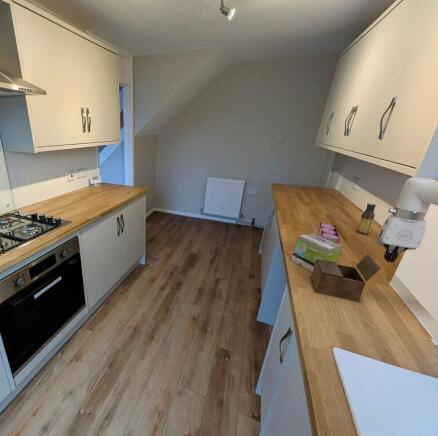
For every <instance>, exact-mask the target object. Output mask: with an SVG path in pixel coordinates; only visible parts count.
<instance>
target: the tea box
mask: <svg viewBox="0 0 438 436" xmlns="http://www.w3.org/2000/svg"><path fill="white" fill-rule="evenodd" d="M342 250H343V245H341V244H340V243H339V244H337V243H334V242H332V241H329V240H327V239H325V238H322V237H320V236H317V234H315V233H312V232H311V233H305V234H300V235H297V238H296V240H295V245H294V248H293V252H292V257H291V261H292V262H293V263H295V264H297V265H299V266H300V267H302V268H304V269H306V270H308V271H309V272H311V273H312V272H313V269H314V265H315V262H316V260H317V259H321V260H326V261H331V262H336V264H338V262H339V258H340V256H341V252H342Z"/></svg>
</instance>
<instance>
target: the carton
mask: <svg viewBox="0 0 438 436" xmlns="http://www.w3.org/2000/svg"><path fill="white" fill-rule="evenodd" d="M310 278H311V281H312V284H313V288H314V290H315V293H318V294H322V295H327V296H330V297H334V298H340V299H343V300H347V301H352V302H356V303H359V302H360V299H361V296H362V294H363V291H364V289H365V286H366V283H367V281H366V280H365V279H364V277H363V276H362V274H361V273H360V272H359V270H358V269H357V267H356V266H349V265H344V264H339V263H337V264H336V262H331V261H326V260H321V259H317V260H316V262H315V265H314V269H313V272H311V276H310Z"/></svg>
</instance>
